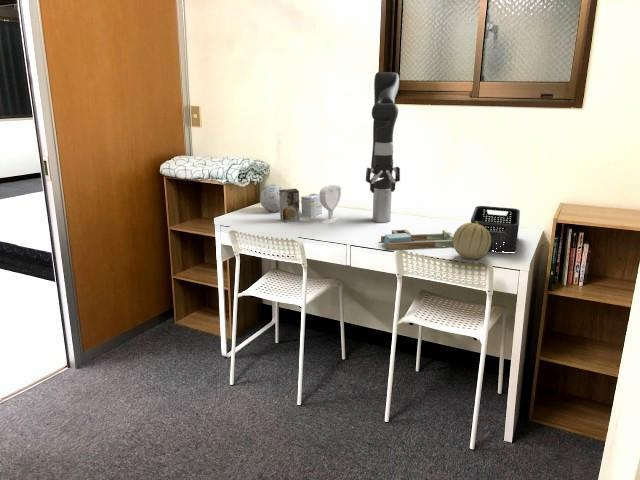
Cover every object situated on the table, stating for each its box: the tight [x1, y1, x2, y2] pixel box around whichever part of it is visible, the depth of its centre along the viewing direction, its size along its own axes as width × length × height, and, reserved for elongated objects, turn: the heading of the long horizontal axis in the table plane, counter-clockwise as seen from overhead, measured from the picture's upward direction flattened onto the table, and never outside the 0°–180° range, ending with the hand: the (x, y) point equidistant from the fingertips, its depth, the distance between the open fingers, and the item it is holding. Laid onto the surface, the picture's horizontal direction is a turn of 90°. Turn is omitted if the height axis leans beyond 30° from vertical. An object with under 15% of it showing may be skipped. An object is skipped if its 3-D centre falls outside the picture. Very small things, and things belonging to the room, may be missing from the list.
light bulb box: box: [300, 193, 323, 218], centre depth 273 cm, size 11×7×11 cm, turn 144°
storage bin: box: [470, 205, 521, 253], centre depth 223 cm, size 29×19×13 cm
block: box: [384, 233, 412, 246], centre depth 222 cm, size 6×10×4 cm, turn 103°
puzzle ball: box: [259, 184, 284, 213], centre depth 280 cm, size 15×15×15 cm
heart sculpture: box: [319, 184, 342, 224], centre depth 260 cm, size 16×5×18 cm, turn 147°
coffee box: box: [279, 188, 301, 223], centre depth 261 cm, size 9×6×16 cm
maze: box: [380, 229, 454, 251], centre depth 227 cm, size 21×30×4 cm
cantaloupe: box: [452, 221, 491, 260], centre depth 203 cm, size 15×15×15 cm
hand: (382, 191), depth 213 cm, fingers open, 8 cm apart
